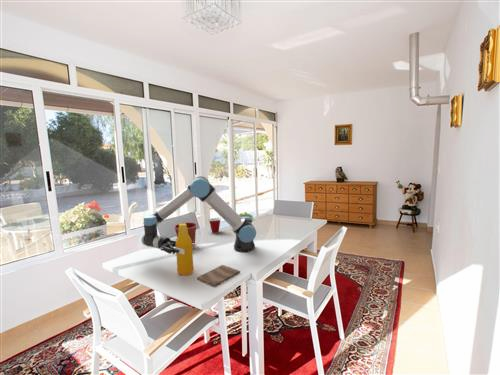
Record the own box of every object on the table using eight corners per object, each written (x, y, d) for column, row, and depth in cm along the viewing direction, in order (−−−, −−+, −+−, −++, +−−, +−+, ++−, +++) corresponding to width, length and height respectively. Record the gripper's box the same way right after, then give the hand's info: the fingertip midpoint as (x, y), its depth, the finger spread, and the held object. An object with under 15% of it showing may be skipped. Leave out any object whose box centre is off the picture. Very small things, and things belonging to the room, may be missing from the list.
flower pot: (192, 250, 188) (191, 229, 186) (171, 249, 192) (169, 228, 189) (201, 242, 204) (200, 222, 202) (181, 242, 208) (180, 222, 205)
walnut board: (222, 266, 161) (222, 264, 161) (239, 272, 153) (239, 270, 153) (197, 279, 146) (196, 277, 146) (214, 287, 137) (214, 284, 137)
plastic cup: (222, 230, 236) (221, 217, 234) (221, 234, 225) (220, 220, 223) (209, 230, 235) (209, 217, 234) (208, 234, 225) (207, 220, 223)
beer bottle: (187, 267, 162) (184, 221, 158) (197, 271, 156) (194, 223, 152) (174, 272, 155) (171, 224, 151) (184, 277, 149) (180, 227, 145)
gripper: (175, 243, 172) (202, 248, 161) (148, 255, 153) (176, 262, 142) (175, 232, 171) (202, 236, 160) (147, 242, 152) (175, 249, 141)
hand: (190, 248), depth 151 cm, fingers closed on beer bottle, 9 cm apart
